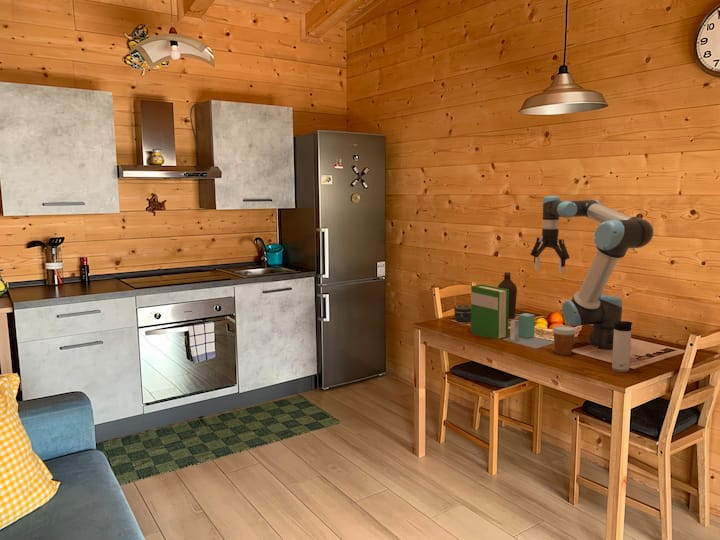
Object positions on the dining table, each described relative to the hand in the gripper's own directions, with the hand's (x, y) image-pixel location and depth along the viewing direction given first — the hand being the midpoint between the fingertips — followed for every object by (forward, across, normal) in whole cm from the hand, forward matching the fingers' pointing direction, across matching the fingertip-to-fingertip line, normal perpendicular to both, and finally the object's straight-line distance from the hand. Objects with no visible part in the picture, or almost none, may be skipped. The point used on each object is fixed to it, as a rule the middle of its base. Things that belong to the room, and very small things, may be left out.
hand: (549, 271), depth 275 cm
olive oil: (+31, +34, -11) cm, 47 cm away
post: (+31, 0, +26) cm, 40 cm away
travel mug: (+31, -52, +25) cm, 65 cm away
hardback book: (+31, +15, +26) cm, 43 cm away
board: (+31, -5, +21) cm, 38 cm away
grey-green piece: (+30, 0, +16) cm, 34 cm away
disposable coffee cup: (+31, -26, +25) cm, 47 cm away
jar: (+31, +44, +13) cm, 55 cm away
